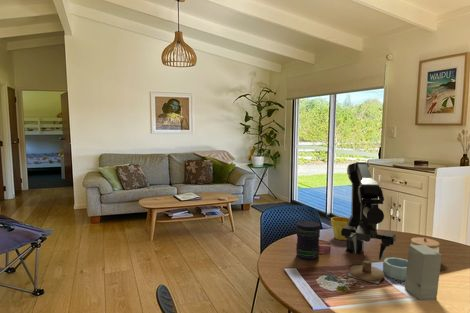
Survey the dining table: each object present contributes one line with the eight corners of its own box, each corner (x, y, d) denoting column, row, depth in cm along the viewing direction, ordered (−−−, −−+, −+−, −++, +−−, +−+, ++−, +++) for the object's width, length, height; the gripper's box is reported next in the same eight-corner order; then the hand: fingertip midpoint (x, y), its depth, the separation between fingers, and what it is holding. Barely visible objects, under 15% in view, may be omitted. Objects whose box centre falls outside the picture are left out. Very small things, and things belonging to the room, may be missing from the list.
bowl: (380, 275, 126) (381, 263, 126) (387, 266, 134) (387, 255, 134) (410, 282, 120) (410, 270, 120) (414, 272, 128) (415, 261, 128)
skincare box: (403, 288, 115) (405, 244, 114) (423, 287, 116) (425, 243, 115) (419, 301, 107) (421, 253, 106) (440, 300, 108) (442, 252, 106)
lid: (345, 275, 125) (346, 263, 125) (355, 264, 135) (355, 254, 134) (379, 284, 118) (379, 271, 118) (387, 272, 127) (387, 261, 127)
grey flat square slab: (347, 276, 125) (347, 275, 125) (356, 266, 134) (356, 265, 134) (378, 284, 119) (378, 283, 119) (385, 273, 127) (385, 272, 127)
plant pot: (331, 240, 165) (332, 221, 164) (329, 234, 175) (329, 216, 174) (353, 241, 163) (354, 222, 163) (349, 235, 174) (350, 217, 173)
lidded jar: (443, 265, 136) (444, 242, 135) (414, 262, 138) (415, 240, 137) (433, 255, 146) (434, 234, 145) (406, 253, 148) (407, 233, 147)
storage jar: (323, 256, 144) (324, 223, 143) (312, 263, 137) (312, 228, 136) (303, 251, 151) (304, 219, 150) (291, 257, 144) (292, 223, 142)
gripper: (336, 217, 124) (335, 257, 125) (390, 225, 113) (388, 270, 114) (346, 211, 133) (345, 249, 134) (397, 218, 121) (395, 259, 123)
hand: (367, 256), depth 126 cm, fingers open, 9 cm apart
